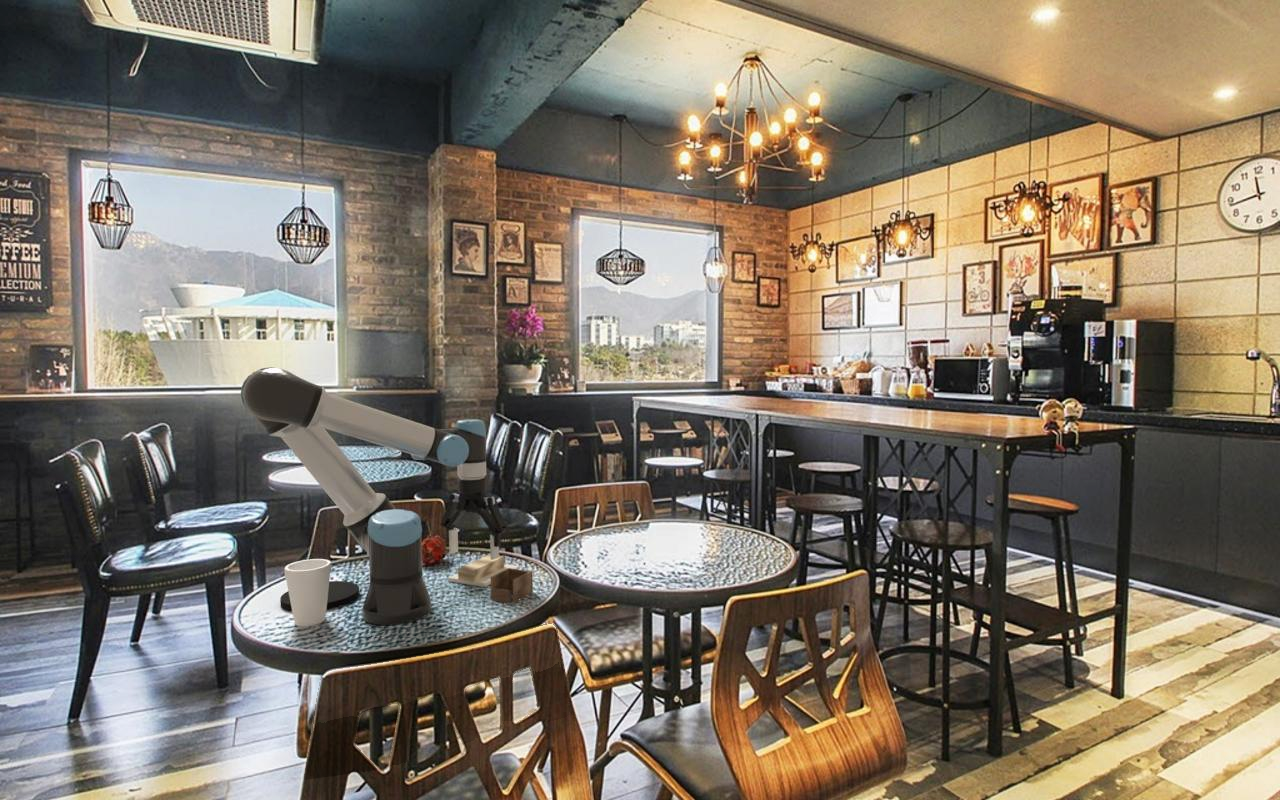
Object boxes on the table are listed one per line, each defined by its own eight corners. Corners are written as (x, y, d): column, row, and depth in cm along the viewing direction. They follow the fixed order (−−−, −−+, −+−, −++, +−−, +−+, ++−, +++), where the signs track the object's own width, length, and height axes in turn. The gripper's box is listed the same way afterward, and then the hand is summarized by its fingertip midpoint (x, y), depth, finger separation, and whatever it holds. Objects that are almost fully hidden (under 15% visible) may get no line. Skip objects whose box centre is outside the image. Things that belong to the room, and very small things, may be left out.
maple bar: (473, 581, 179) (473, 570, 178) (458, 579, 181) (458, 568, 180) (504, 566, 191) (504, 556, 191) (489, 564, 193) (489, 554, 193)
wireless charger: (370, 588, 178) (370, 580, 178) (339, 613, 161) (339, 605, 160) (303, 588, 179) (303, 581, 179) (265, 613, 161) (265, 605, 161)
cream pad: (484, 587, 178) (484, 583, 177) (448, 581, 182) (448, 577, 182) (519, 569, 192) (519, 566, 192) (484, 564, 197) (484, 561, 197)
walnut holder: (513, 603, 165) (512, 581, 165) (488, 599, 168) (488, 577, 168) (532, 592, 173) (532, 571, 172) (509, 589, 176) (508, 568, 175)
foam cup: (321, 610, 162) (319, 556, 161) (340, 619, 156) (338, 563, 155) (279, 622, 154) (277, 566, 154) (298, 632, 149) (295, 574, 148)
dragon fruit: (439, 561, 206) (431, 579, 195) (415, 546, 205) (405, 564, 193) (455, 539, 206) (448, 556, 194) (431, 524, 204) (422, 540, 192)
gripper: (519, 478, 180) (520, 556, 181) (444, 472, 190) (446, 547, 191) (502, 482, 173) (504, 564, 174) (425, 476, 183) (428, 554, 184)
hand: (474, 555), depth 183 cm, fingers open, 13 cm apart
